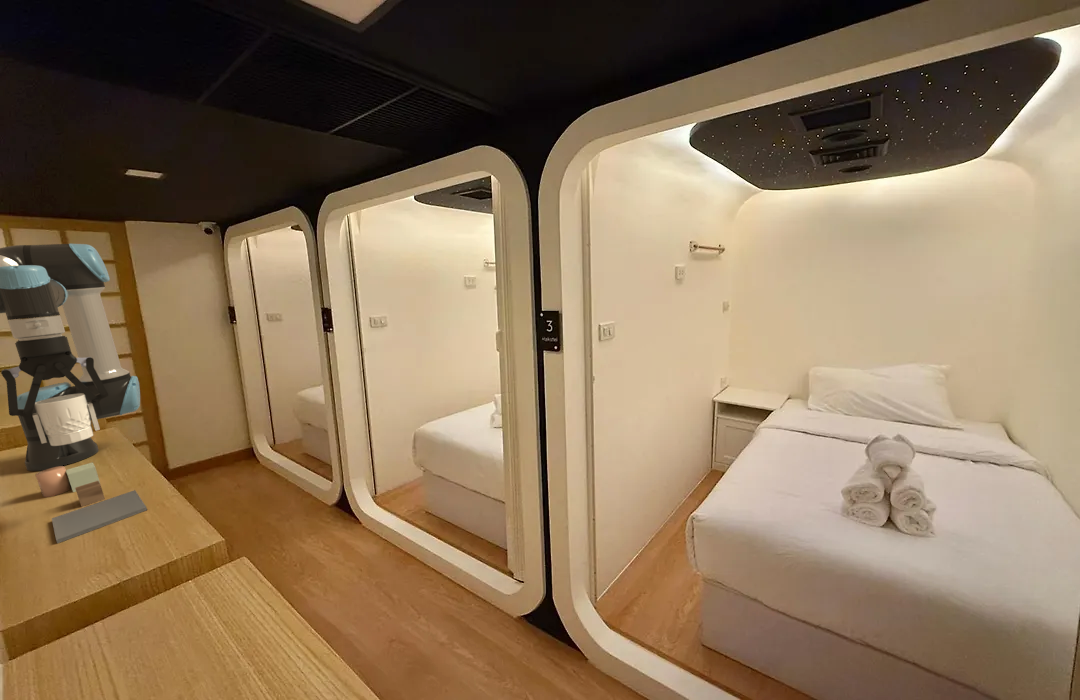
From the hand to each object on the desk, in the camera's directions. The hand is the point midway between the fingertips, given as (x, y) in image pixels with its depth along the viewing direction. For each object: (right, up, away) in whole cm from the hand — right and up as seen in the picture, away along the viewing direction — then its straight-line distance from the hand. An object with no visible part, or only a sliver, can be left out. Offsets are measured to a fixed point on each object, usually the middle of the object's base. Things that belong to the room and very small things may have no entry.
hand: (71, 435), depth 97 cm
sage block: (-14, -17, +16) cm, 27 cm away
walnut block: (-3, -18, +7) cm, 19 cm away
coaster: (+7, -18, 0) cm, 20 cm away
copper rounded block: (-18, -17, +13) cm, 29 cm away
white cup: (0, -1, 0) cm, 1 cm away
